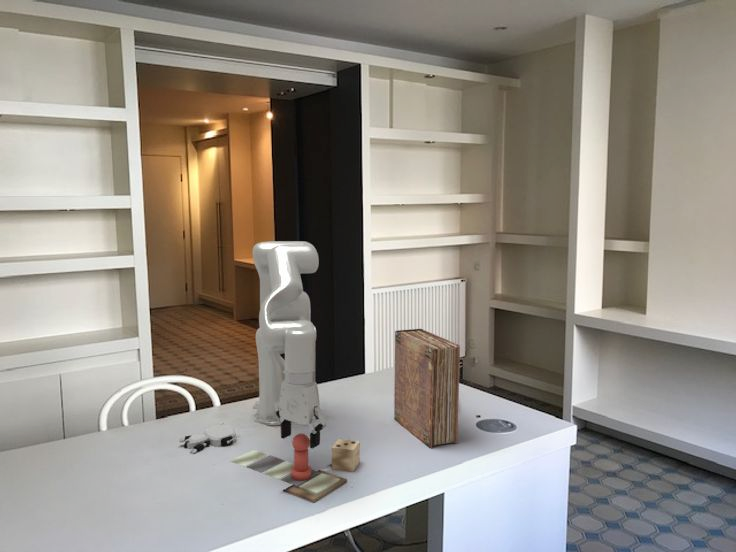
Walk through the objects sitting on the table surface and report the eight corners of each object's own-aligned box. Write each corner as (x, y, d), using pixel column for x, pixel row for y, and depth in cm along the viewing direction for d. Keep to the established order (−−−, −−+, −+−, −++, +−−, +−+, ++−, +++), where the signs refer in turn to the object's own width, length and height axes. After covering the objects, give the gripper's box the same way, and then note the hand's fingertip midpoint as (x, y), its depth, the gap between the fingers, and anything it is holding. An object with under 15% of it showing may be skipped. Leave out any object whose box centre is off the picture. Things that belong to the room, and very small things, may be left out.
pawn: (287, 477, 150) (286, 434, 149) (300, 470, 154) (300, 428, 153) (302, 482, 147) (302, 439, 146) (315, 475, 151) (315, 433, 150)
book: (457, 444, 175) (460, 345, 172) (430, 449, 172) (432, 348, 168) (418, 416, 198) (420, 328, 195) (393, 419, 195) (395, 330, 191)
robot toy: (192, 463, 163) (243, 447, 172) (190, 448, 162) (241, 432, 171) (177, 448, 173) (226, 433, 182) (176, 434, 172) (225, 419, 181)
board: (222, 467, 158) (221, 462, 158) (257, 451, 169) (257, 446, 169) (313, 502, 140) (313, 497, 140) (346, 482, 151) (346, 476, 151)
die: (331, 469, 158) (331, 447, 157) (338, 459, 164) (338, 438, 163) (353, 471, 157) (353, 449, 156) (359, 462, 162) (359, 440, 162)
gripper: (264, 373, 150) (265, 438, 152) (317, 387, 140) (316, 456, 142) (284, 366, 156) (285, 428, 158) (336, 379, 146) (336, 445, 148)
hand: (300, 441), depth 150 cm, fingers open, 9 cm apart
